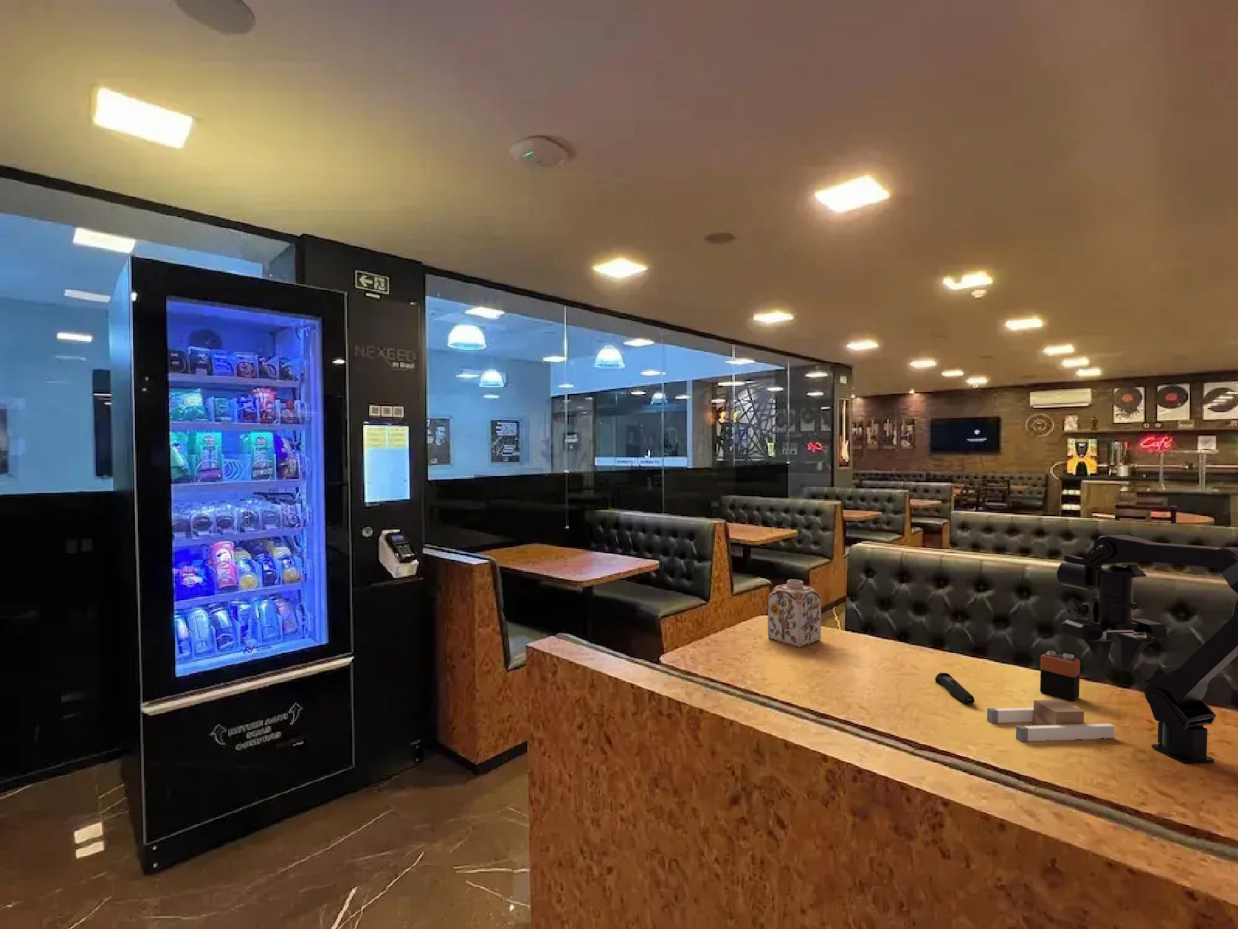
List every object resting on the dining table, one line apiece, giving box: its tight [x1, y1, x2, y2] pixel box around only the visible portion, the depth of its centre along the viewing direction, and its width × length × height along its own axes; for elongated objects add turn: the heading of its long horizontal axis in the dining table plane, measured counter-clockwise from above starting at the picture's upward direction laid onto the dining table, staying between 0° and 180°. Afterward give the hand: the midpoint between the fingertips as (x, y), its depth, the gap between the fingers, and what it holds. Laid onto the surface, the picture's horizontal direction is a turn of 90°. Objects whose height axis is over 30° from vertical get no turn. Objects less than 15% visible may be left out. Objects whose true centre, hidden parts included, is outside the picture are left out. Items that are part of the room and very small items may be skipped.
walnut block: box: [1032, 699, 1085, 726], centre depth 127 cm, size 6×6×5 cm
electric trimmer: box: [934, 672, 976, 704], centre depth 146 cm, size 4×16×3 cm, turn 174°
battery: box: [1039, 650, 1081, 702], centre depth 146 cm, size 4×7×10 cm, turn 37°
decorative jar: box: [767, 578, 822, 648], centre depth 187 cm, size 12×12×18 cm
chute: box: [986, 705, 1115, 743], centre depth 127 cm, size 10×20×3 cm, turn 95°
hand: (1112, 670), depth 128 cm, fingers open, 5 cm apart
